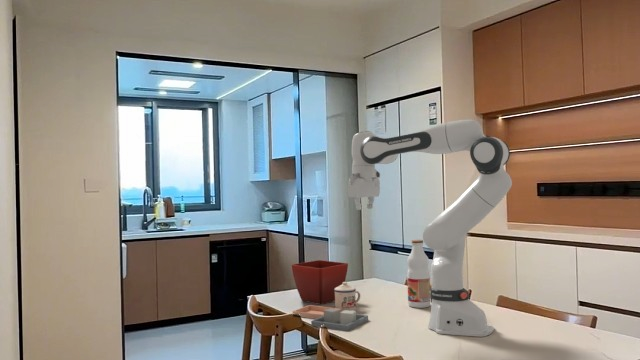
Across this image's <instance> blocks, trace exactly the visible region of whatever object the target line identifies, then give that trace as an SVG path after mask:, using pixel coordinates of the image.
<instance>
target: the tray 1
mask: <svg viewBox="0 0 640 360" xmlns="http://www.w3.org/2000/svg"><path fill="white" fill-rule="evenodd" d="M330 308H333V309H339V310H340V312H342V309H340V308H335V307H329V306H322V305H321V306H320V305H313V304H309V305H306V306H303V307H300V308H297V309H295V310H292V314H293V313H298V314H300V316H301V317H300V318H306V319H307V318H308V319H313V320H315V319H317V318H319V317H322V316H324V310H327V309H330Z"/></svg>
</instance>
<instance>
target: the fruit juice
mask: <svg viewBox="0 0 640 360" xmlns="http://www.w3.org/2000/svg"><path fill="white" fill-rule="evenodd" d="M423 244H424V240H423V239H412V240H411V245H412V247H411V252H410V254H409V255H408V257H407V260H406V263H407V267H408V268H407V271H406V272H407V273H406V274H407V277H406V280H407V304H408V306H409V307H411V308H417V309H424V308H425V309H426V308H429V307H430V306H431V299H430V288H431V273H430V270H429V264H430V261H429V257H428V256H427V254H426V253H425V251H424V250H425V249H424V247H423V246H424V245H423Z"/></svg>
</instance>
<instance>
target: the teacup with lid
mask: <svg viewBox="0 0 640 360" xmlns="http://www.w3.org/2000/svg"><path fill="white" fill-rule="evenodd" d="M334 291H335V301H334V306H335V307H334V308H340V309H342V311H344V310H349V311H356V309H357V307H356V306H357V303H358V302H360V299H361V292H359V291H358V290H357V289H356V287H355V286H352V285H350V284H349V283H348V282H347V281H345V282H343V283H342V285H340V286H338V287H336V288H335V289H334ZM356 294H357V298H356Z"/></svg>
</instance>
